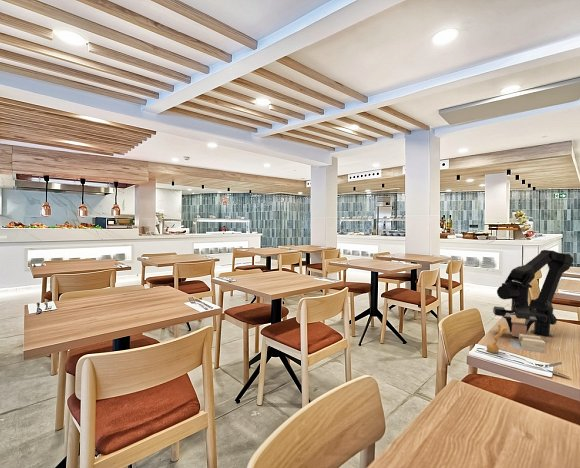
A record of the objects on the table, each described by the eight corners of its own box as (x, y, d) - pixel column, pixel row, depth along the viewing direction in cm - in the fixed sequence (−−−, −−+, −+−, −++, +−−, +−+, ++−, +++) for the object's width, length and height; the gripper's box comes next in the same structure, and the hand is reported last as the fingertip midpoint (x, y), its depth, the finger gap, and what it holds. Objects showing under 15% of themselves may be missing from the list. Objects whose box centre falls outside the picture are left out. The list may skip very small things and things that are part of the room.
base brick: (518, 343, 133) (518, 333, 133) (539, 346, 130) (539, 336, 130) (522, 349, 127) (523, 339, 127) (544, 352, 124) (545, 342, 124)
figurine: (488, 348, 129) (490, 319, 128) (506, 353, 125) (508, 322, 124) (484, 355, 122) (486, 324, 122) (503, 359, 118) (504, 328, 118)
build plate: (508, 339, 138) (509, 338, 138) (537, 343, 134) (537, 342, 134) (515, 350, 127) (515, 348, 127) (546, 354, 123) (546, 353, 123)
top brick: (509, 332, 144) (510, 321, 143) (523, 334, 142) (523, 323, 141) (512, 336, 139) (512, 324, 139) (526, 338, 137) (526, 326, 137)
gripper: (498, 299, 136) (496, 335, 137) (552, 305, 128) (550, 343, 129) (493, 293, 146) (492, 327, 147) (544, 298, 138) (541, 333, 139)
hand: (517, 332), depth 140 cm, fingers closed on top brick, 5 cm apart
